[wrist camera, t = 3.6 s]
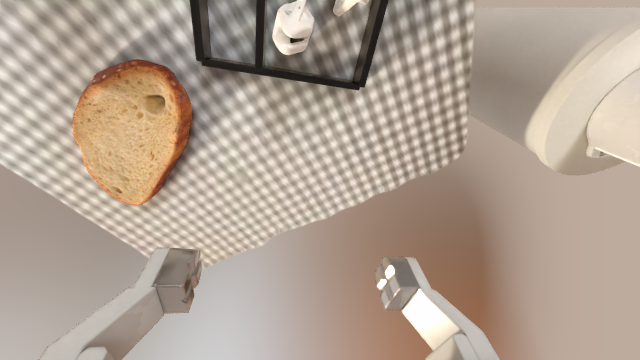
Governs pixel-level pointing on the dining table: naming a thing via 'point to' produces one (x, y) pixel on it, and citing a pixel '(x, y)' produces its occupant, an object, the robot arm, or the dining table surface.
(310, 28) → the shaker set
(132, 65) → the bread slice
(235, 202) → the dining table surface
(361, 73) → the dish rack
